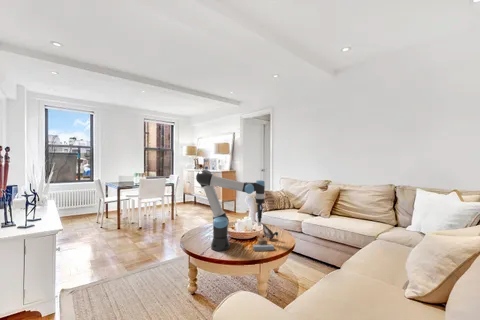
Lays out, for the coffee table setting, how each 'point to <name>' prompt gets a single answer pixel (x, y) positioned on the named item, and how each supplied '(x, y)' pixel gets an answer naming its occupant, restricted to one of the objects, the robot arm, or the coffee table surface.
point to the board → (263, 247)
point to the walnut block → (262, 241)
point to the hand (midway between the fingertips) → (259, 225)
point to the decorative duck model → (268, 232)
